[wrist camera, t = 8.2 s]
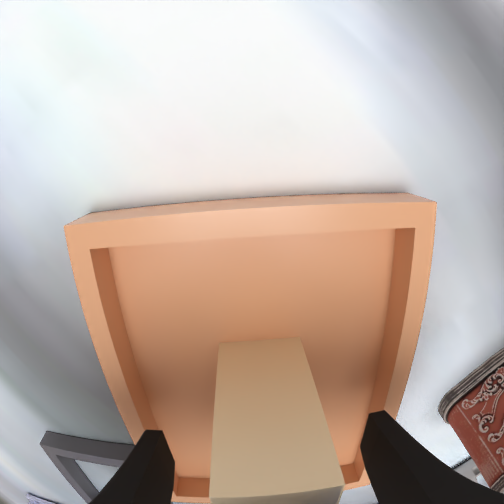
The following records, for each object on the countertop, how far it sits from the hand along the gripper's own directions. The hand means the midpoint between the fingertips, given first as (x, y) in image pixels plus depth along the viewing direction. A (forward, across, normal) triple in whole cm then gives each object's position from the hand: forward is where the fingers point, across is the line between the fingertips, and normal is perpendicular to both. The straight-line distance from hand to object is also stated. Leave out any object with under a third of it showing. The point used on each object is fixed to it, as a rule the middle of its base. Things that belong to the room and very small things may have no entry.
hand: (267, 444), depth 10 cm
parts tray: (+3, 0, 0) cm, 3 cm away
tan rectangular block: (+3, 0, 0) cm, 3 cm away
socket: (+3, +10, +9) cm, 14 cm away
